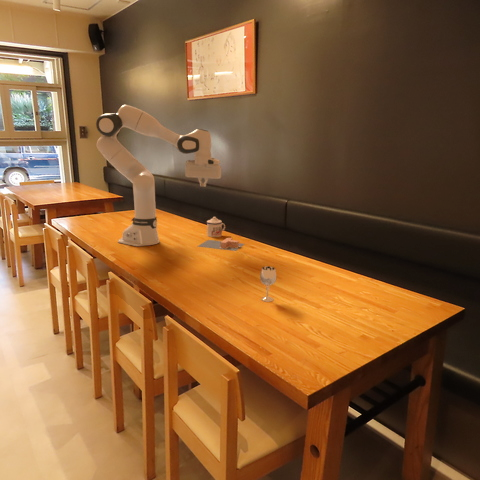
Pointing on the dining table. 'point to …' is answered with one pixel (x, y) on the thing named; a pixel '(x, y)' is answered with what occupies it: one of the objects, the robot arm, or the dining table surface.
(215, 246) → the t mat
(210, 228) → the teacup with lid
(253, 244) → the dining table surface
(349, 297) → the dining table surface
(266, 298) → the wineglass
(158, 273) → the dining table surface
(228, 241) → the t block
